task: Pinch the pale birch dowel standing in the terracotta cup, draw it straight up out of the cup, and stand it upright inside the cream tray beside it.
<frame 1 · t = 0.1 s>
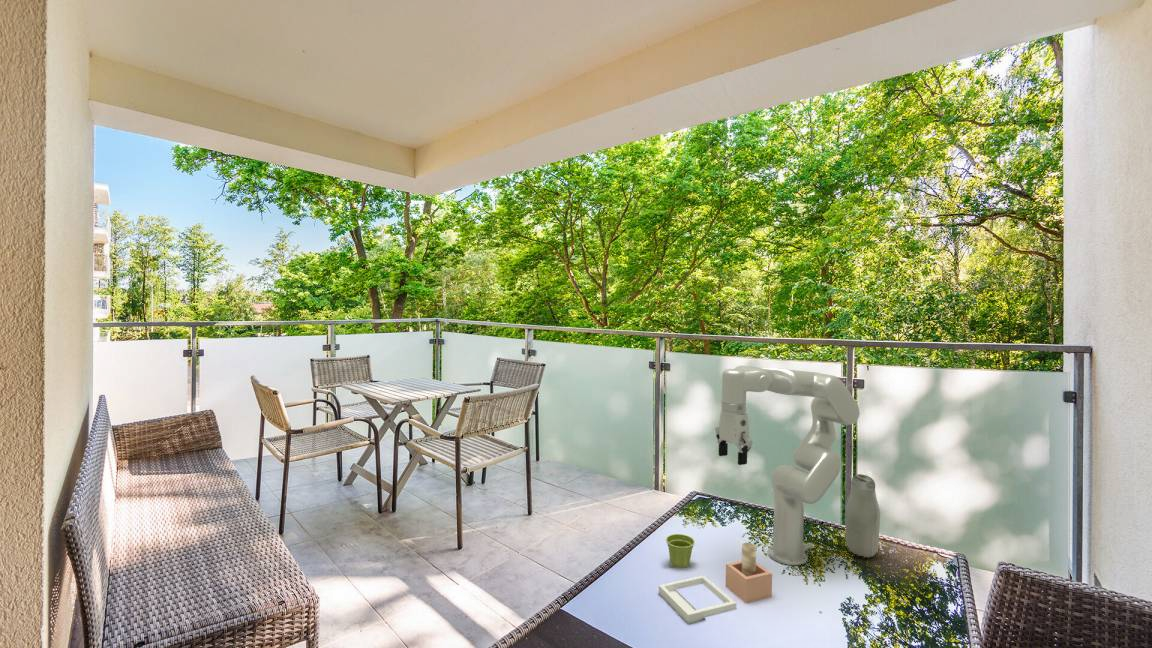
hand: (732, 459, 172), 37 cm above the table, tool pointing down, fingers open, 9 cm apart
terracotta cup: (748, 594, 160), on the table
grey bottle: (861, 555, 185), on the table
plant pot: (679, 566, 177), on the table
cream tray: (696, 602, 156), on the table
birch dowel: (748, 591, 160), point 1 cm above the table, touching terracotta cup
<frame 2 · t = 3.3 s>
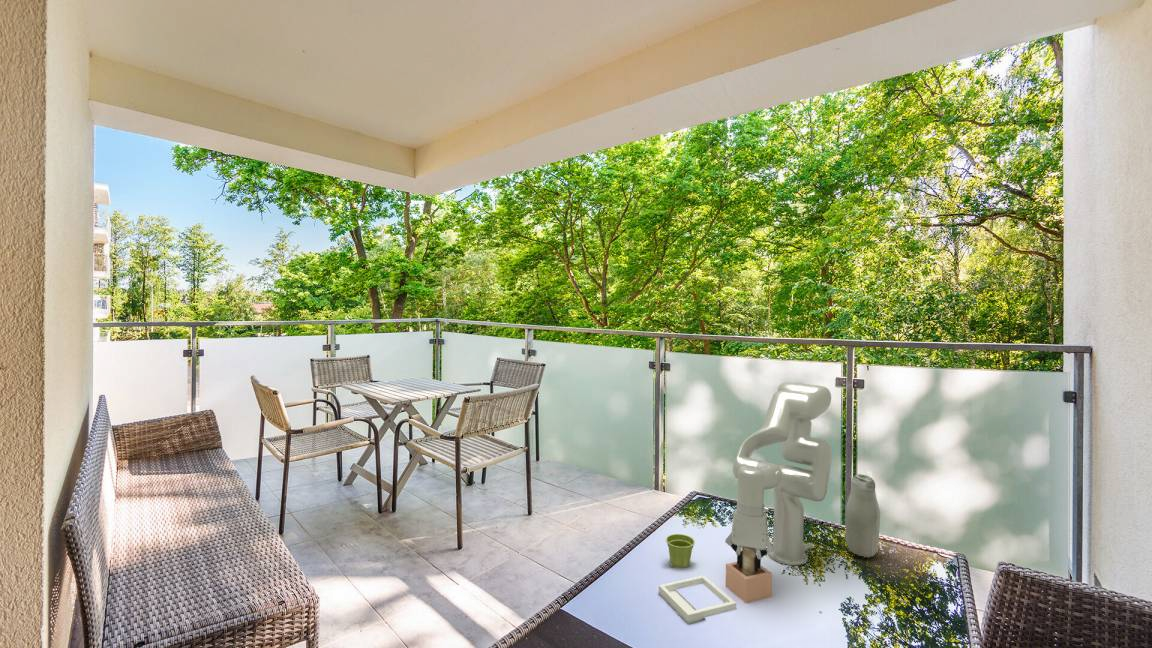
hand: (748, 567, 160), 8 cm above the table, tool pointing down, fingers closed on birch dowel, 4 cm apart
birch dowel: (748, 591, 160), point 1 cm above the table, touching gripper, terracotta cup
everything else where it was.
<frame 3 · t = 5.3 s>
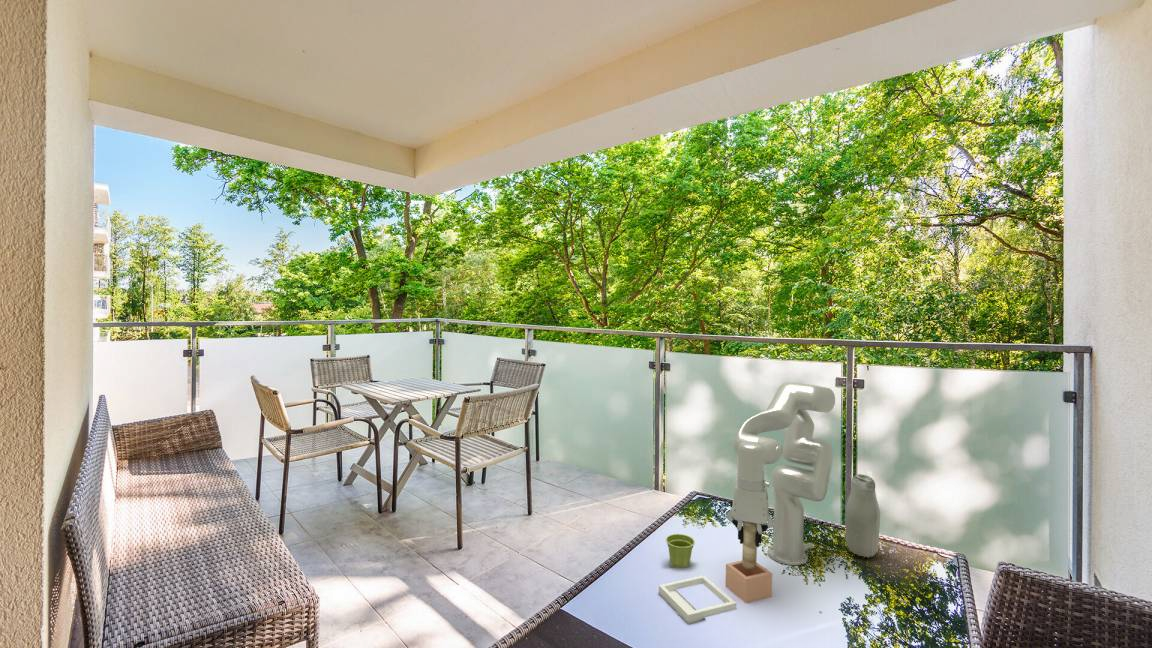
hand: (749, 542, 159), 16 cm above the table, tool pointing down, fingers closed on birch dowel, 4 cm apart
birch dowel: (749, 566, 160), point 9 cm above the table, touching gripper
everything else where it was.
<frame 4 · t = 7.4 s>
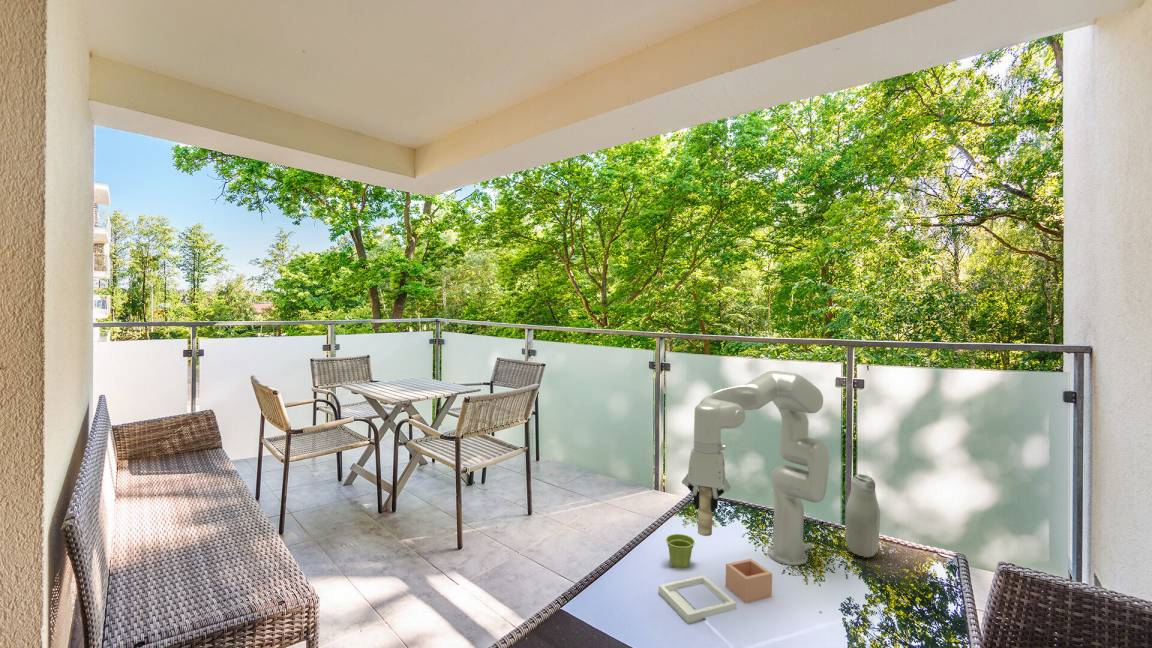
hand: (705, 508, 155), 28 cm above the table, tool pointing down, fingers closed on birch dowel, 4 cm apart
birch dowel: (704, 533, 155), point 21 cm above the table, touching gripper
everything else where it was.
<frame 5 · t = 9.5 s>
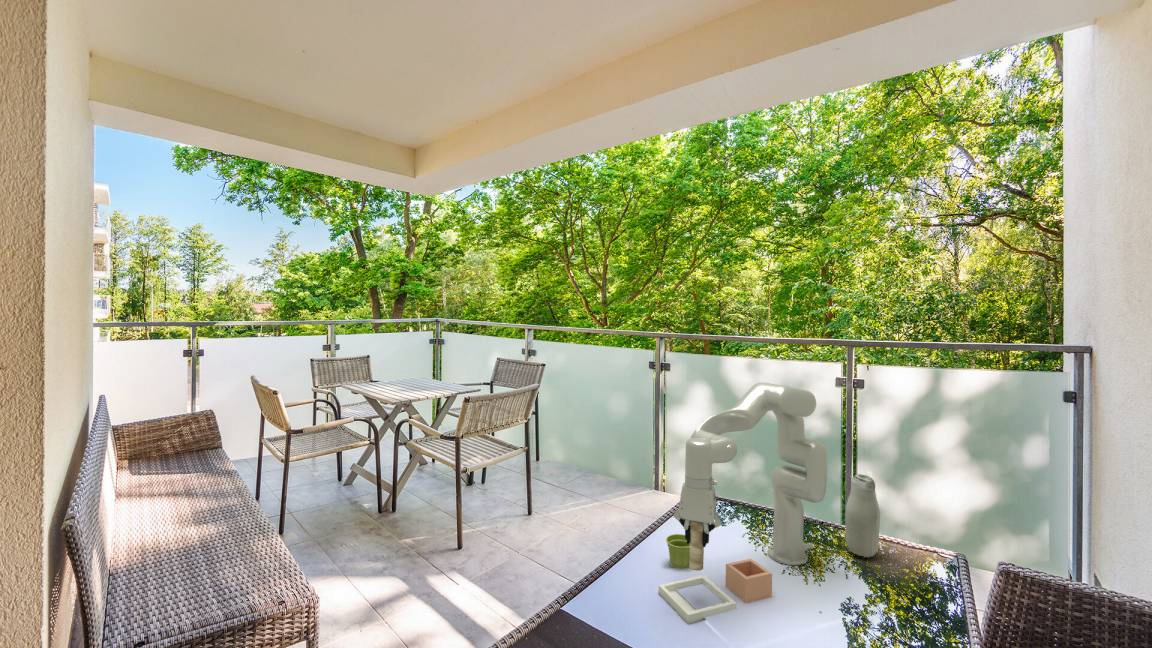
hand: (696, 542, 155), 18 cm above the table, tool pointing down, fingers closed on birch dowel, 4 cm apart
birch dowel: (696, 567, 155), point 11 cm above the table, touching gripper
everything else where it was.
when the fingers open (9 cm above the table, at t = 11.4 s): birch dowel drops 1 cm, resting on cream tray.
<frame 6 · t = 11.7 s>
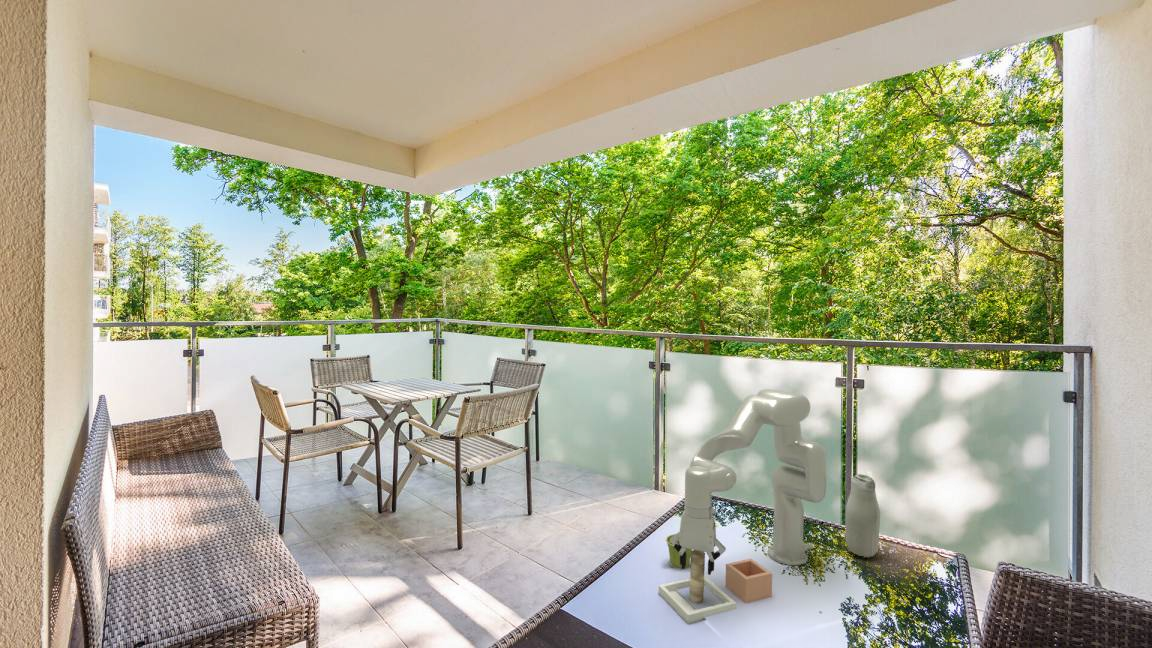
hand: (696, 569, 155), 10 cm above the table, tool pointing down, fingers open, 7 cm apart
birch dowel: (696, 600, 156), point 1 cm above the table, touching cream tray
everything else where it was.
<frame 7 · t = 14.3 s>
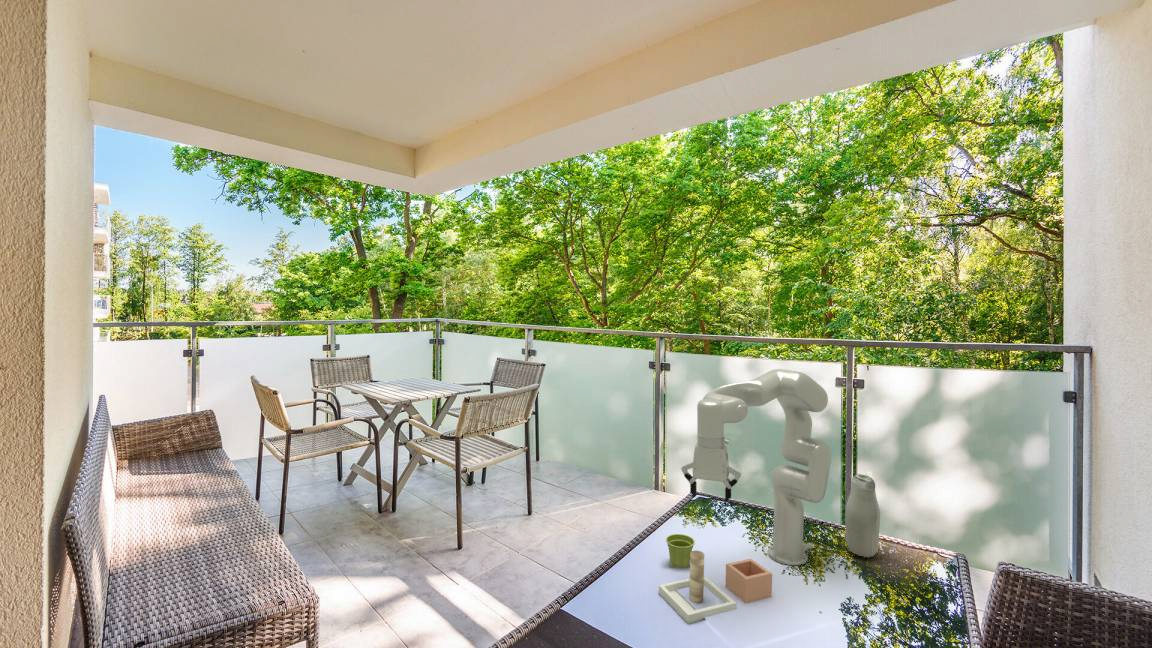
hand: (710, 497, 158), 30 cm above the table, tool pointing down, fingers open, 9 cm apart
nothing on the table moved.
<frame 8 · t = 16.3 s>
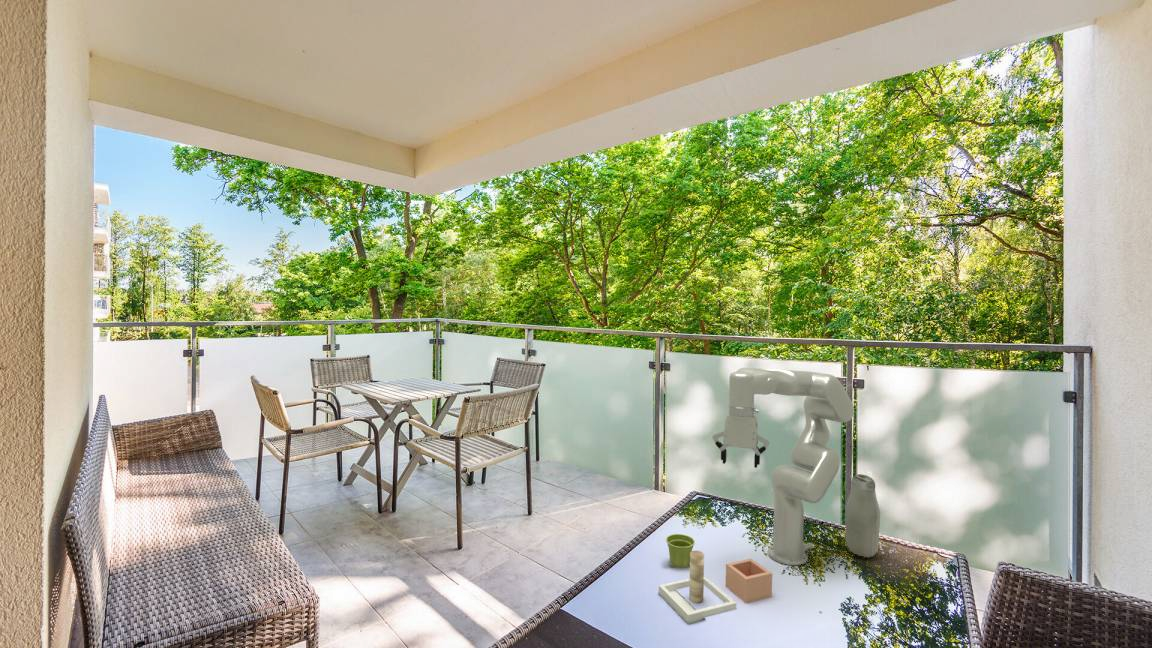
hand: (740, 464, 169), 36 cm above the table, tool pointing down, fingers open, 9 cm apart
nothing on the table moved.
at the end: birch dowel inside the target area on the cream tray (0.0 cm from its centre), point 0.6 cm above the cream tray's base; birch dowel tilted 0°; the gripper is holding nothing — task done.
